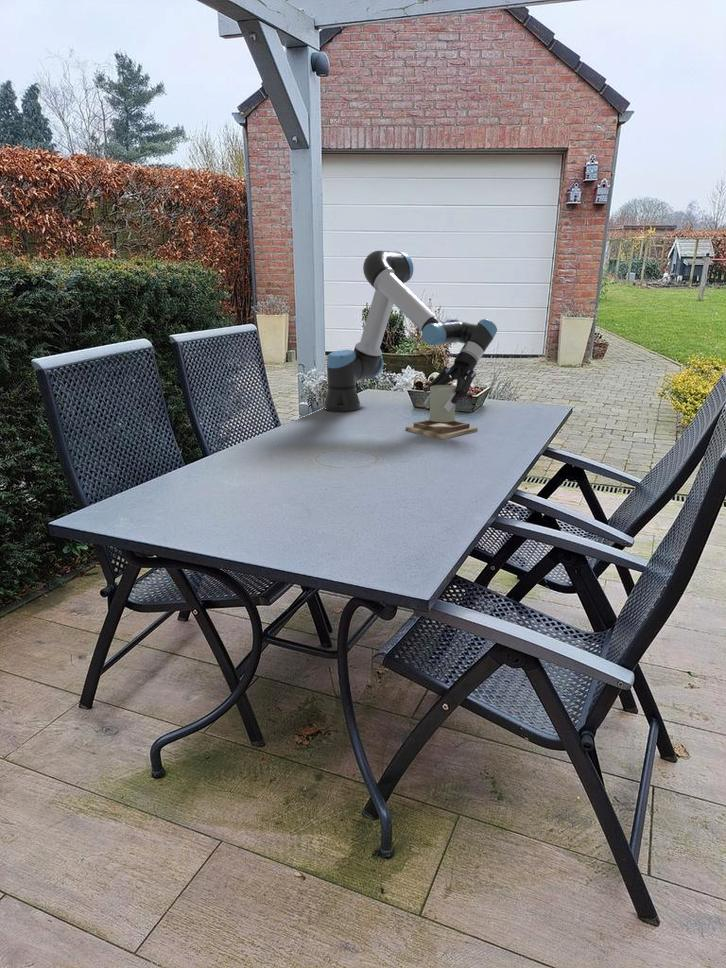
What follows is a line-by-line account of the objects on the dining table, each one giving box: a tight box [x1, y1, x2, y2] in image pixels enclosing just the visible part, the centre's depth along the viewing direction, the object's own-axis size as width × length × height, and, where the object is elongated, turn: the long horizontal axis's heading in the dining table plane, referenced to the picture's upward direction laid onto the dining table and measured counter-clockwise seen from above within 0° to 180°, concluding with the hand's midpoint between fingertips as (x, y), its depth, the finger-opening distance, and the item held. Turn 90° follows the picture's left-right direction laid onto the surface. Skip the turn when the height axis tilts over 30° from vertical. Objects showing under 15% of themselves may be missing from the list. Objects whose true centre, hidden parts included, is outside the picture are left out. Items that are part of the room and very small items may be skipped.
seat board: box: [405, 419, 478, 440], centre depth 227 cm, size 18×18×3 cm
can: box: [428, 384, 456, 422], centre depth 225 cm, size 9×9×12 cm
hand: (436, 407), depth 223 cm, fingers closed on can, 9 cm apart
